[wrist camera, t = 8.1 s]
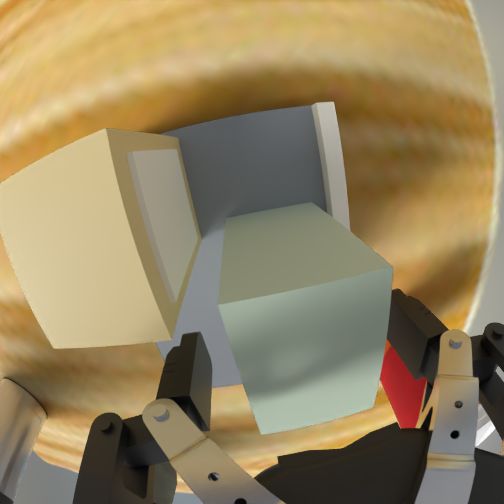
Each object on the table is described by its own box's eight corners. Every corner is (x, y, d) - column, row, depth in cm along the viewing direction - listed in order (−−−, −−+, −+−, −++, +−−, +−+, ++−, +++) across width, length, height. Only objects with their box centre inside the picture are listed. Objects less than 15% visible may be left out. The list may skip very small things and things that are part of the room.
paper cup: (429, 329, 23) (503, 424, 10) (368, 372, 24) (422, 484, 11) (411, 277, 20) (520, 387, 7) (339, 329, 22) (409, 475, 9)
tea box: (249, 319, 18) (261, 435, 10) (225, 218, 15) (217, 304, 7) (324, 303, 18) (377, 405, 10) (315, 201, 15) (398, 264, 7)
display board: (183, 374, 22) (179, 399, 20) (105, 155, 15) (83, 158, 13) (338, 346, 22) (349, 369, 19) (317, 108, 15) (333, 101, 12)
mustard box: (126, 255, 16) (53, 348, 8) (99, 162, 14) (-11, 190, 5) (205, 238, 16) (178, 339, 7) (181, 136, 14) (112, 125, 5)
